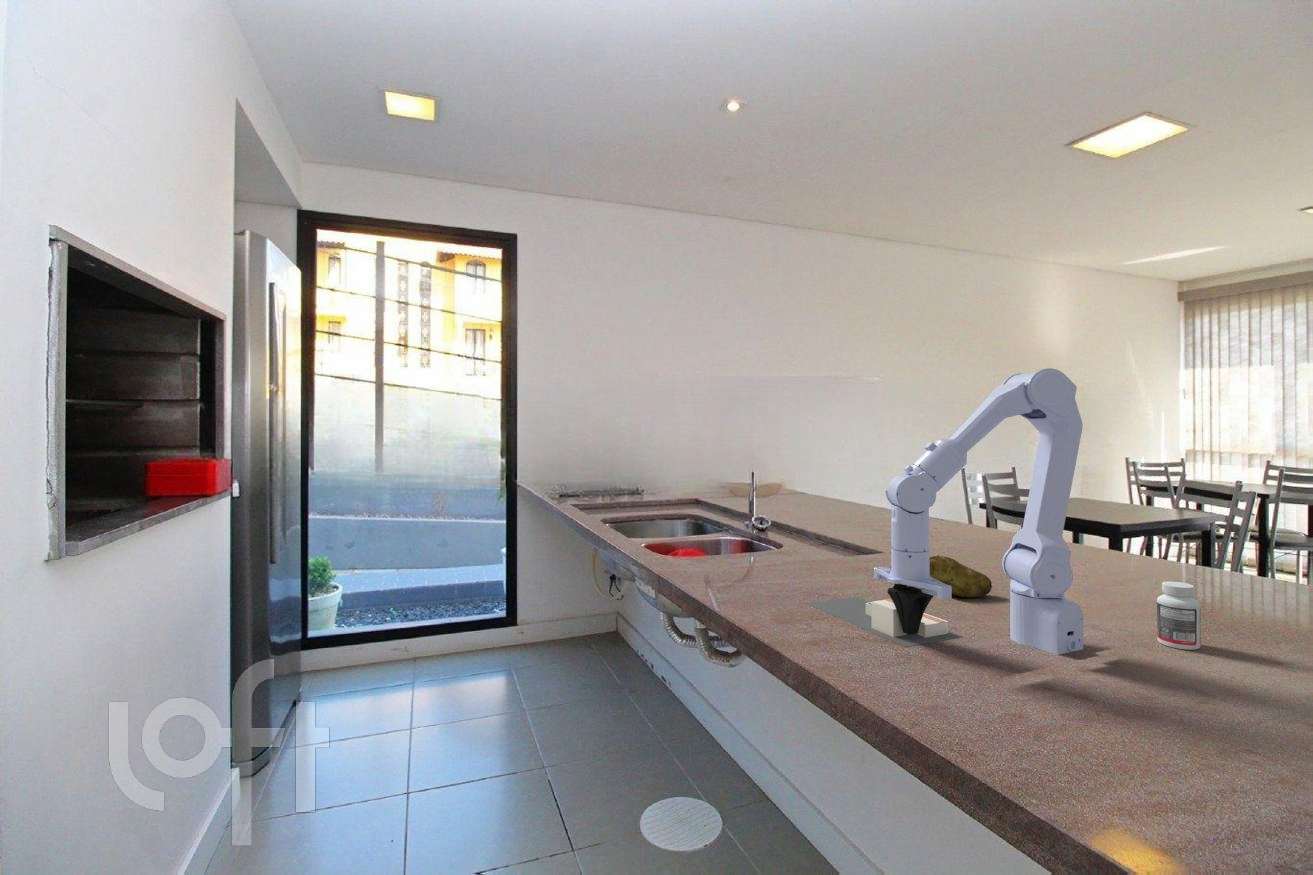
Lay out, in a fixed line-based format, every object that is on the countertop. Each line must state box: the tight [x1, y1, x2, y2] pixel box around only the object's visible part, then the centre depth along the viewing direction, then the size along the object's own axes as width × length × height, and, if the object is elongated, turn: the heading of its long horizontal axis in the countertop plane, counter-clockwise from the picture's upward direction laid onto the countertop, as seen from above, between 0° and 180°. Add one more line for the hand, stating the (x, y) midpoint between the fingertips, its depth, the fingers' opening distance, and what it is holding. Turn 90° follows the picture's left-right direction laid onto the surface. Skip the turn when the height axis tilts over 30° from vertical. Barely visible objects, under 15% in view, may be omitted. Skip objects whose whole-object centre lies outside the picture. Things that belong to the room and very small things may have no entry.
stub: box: [870, 598, 907, 637], centre depth 103 cm, size 5×4×5 cm
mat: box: [805, 596, 964, 648], centre depth 109 cm, size 26×12×1 cm, turn 22°
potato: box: [929, 555, 993, 599], centre depth 128 cm, size 8×13×8 cm, turn 54°
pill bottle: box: [1156, 580, 1202, 651], centre depth 98 cm, size 5×5×10 cm
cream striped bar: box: [866, 599, 949, 638], centre depth 106 cm, size 14×5×2 cm, turn 22°
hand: (910, 632), depth 99 cm, fingers closed
